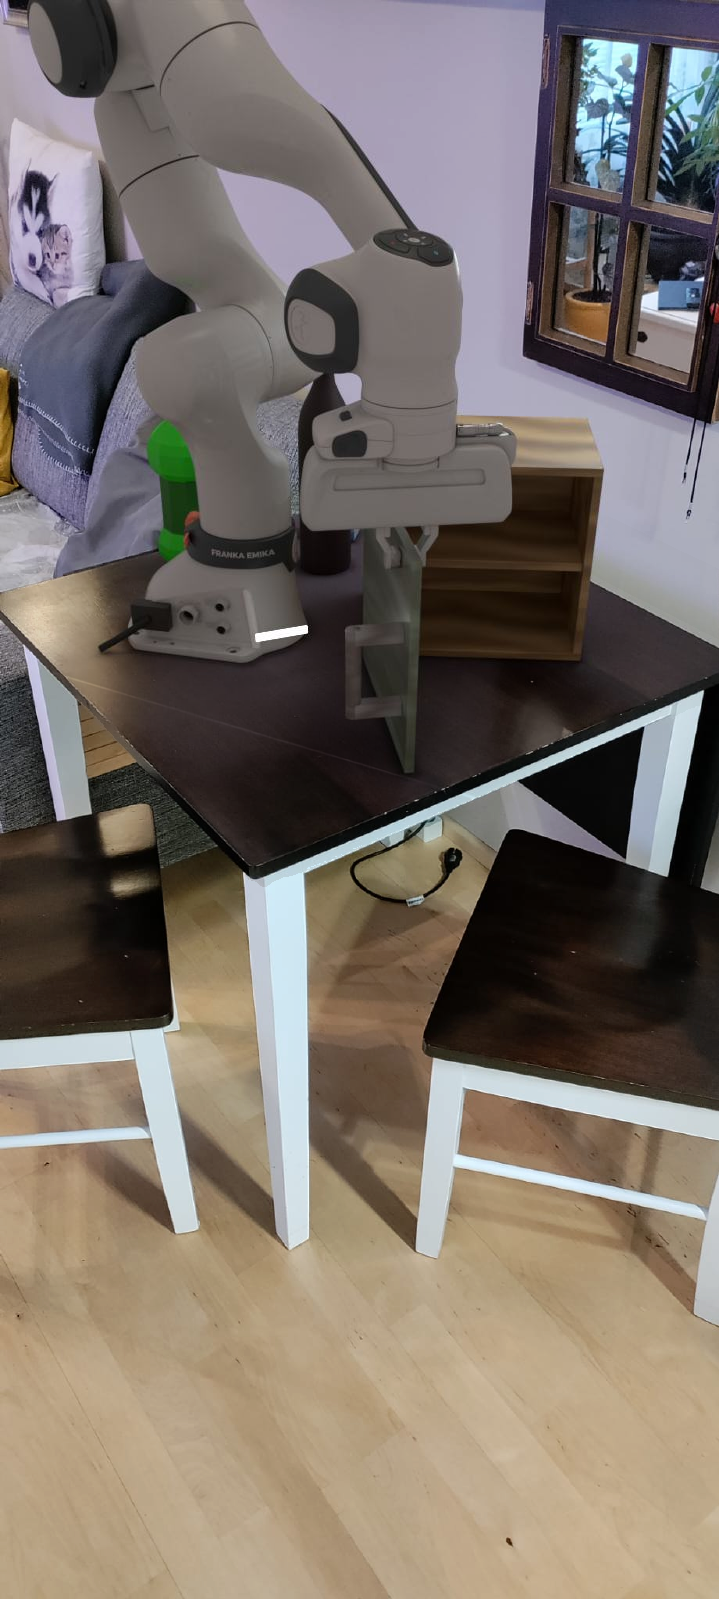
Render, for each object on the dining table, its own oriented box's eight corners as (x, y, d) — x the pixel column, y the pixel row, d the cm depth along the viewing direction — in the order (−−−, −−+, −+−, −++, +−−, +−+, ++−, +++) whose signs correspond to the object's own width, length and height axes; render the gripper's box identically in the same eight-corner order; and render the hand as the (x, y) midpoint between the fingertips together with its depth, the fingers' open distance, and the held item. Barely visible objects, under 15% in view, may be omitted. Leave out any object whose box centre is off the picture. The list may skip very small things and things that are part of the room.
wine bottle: (340, 579, 167) (340, 354, 149) (292, 571, 169) (287, 348, 151) (357, 559, 172) (359, 340, 155) (311, 552, 174) (308, 334, 157)
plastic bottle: (154, 583, 165) (137, 397, 151) (164, 552, 174) (148, 373, 159) (228, 584, 165) (217, 398, 151) (234, 552, 174) (225, 374, 159)
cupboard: (580, 661, 148) (604, 468, 134) (366, 654, 149) (369, 462, 135) (567, 597, 163) (587, 417, 149) (373, 591, 164) (375, 412, 150)
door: (349, 778, 126) (350, 565, 113) (315, 660, 147) (312, 469, 134) (414, 772, 127) (422, 561, 114) (370, 656, 148) (373, 466, 135)
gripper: (510, 411, 115) (499, 547, 123) (296, 419, 113) (299, 557, 121) (527, 432, 110) (514, 573, 118) (302, 441, 108) (305, 584, 116)
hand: (404, 565), depth 120 cm, fingers closed on door
